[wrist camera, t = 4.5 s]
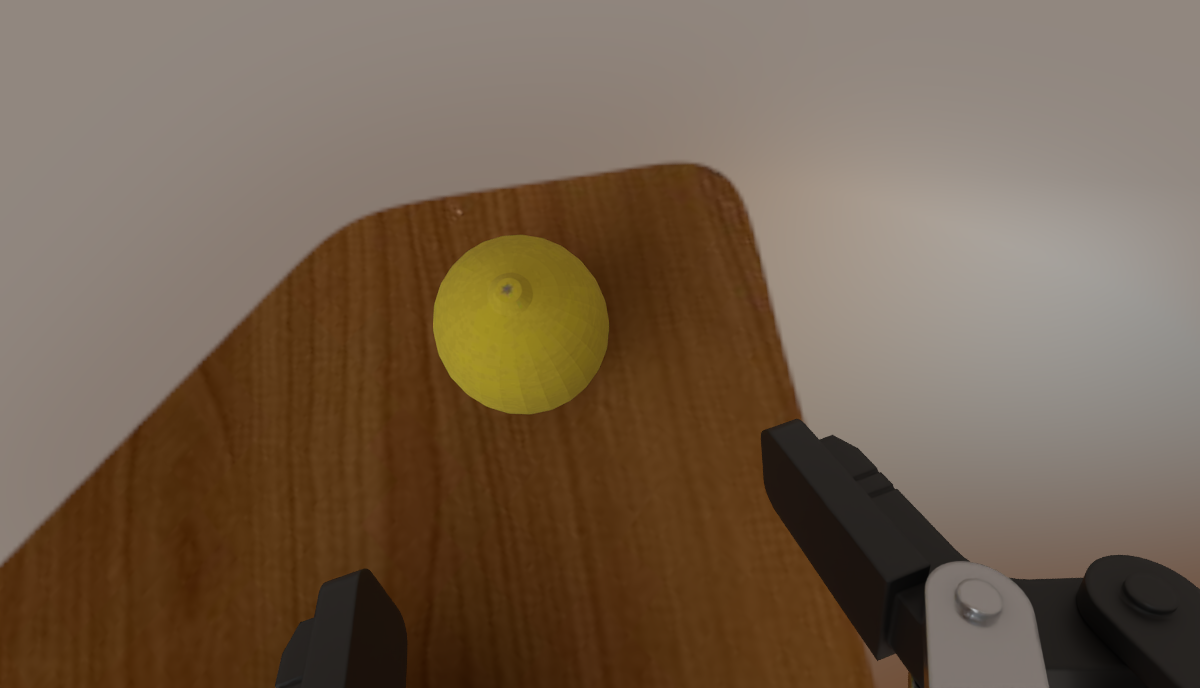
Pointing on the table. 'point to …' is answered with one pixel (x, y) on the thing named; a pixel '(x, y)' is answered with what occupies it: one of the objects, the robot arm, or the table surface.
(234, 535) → the table surface
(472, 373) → the lemon
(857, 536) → the robot arm
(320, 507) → the table surface
